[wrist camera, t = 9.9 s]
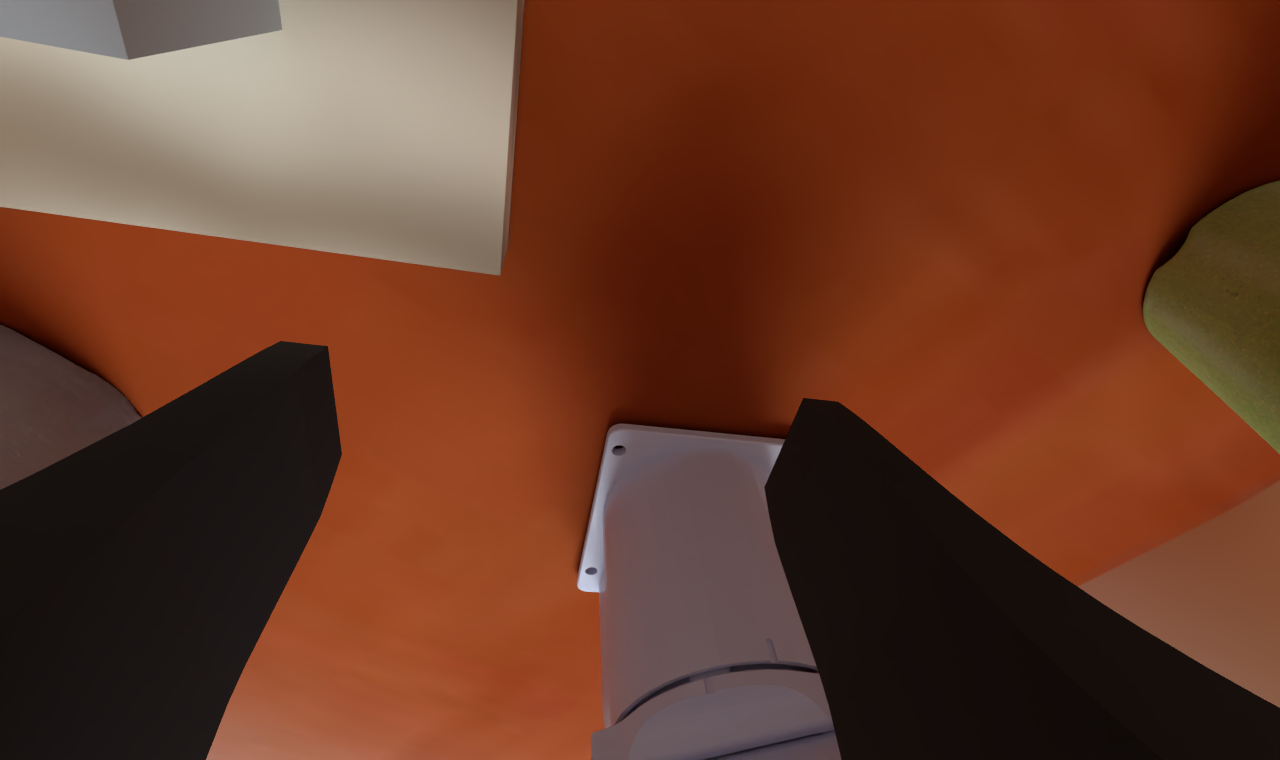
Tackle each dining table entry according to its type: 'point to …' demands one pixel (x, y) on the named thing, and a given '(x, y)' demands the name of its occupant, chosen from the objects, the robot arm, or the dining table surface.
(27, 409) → the pillar candle
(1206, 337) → the plant pot
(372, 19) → the birch base
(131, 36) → the grey block
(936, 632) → the robot arm
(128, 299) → the dining table surface
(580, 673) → the dining table surface
